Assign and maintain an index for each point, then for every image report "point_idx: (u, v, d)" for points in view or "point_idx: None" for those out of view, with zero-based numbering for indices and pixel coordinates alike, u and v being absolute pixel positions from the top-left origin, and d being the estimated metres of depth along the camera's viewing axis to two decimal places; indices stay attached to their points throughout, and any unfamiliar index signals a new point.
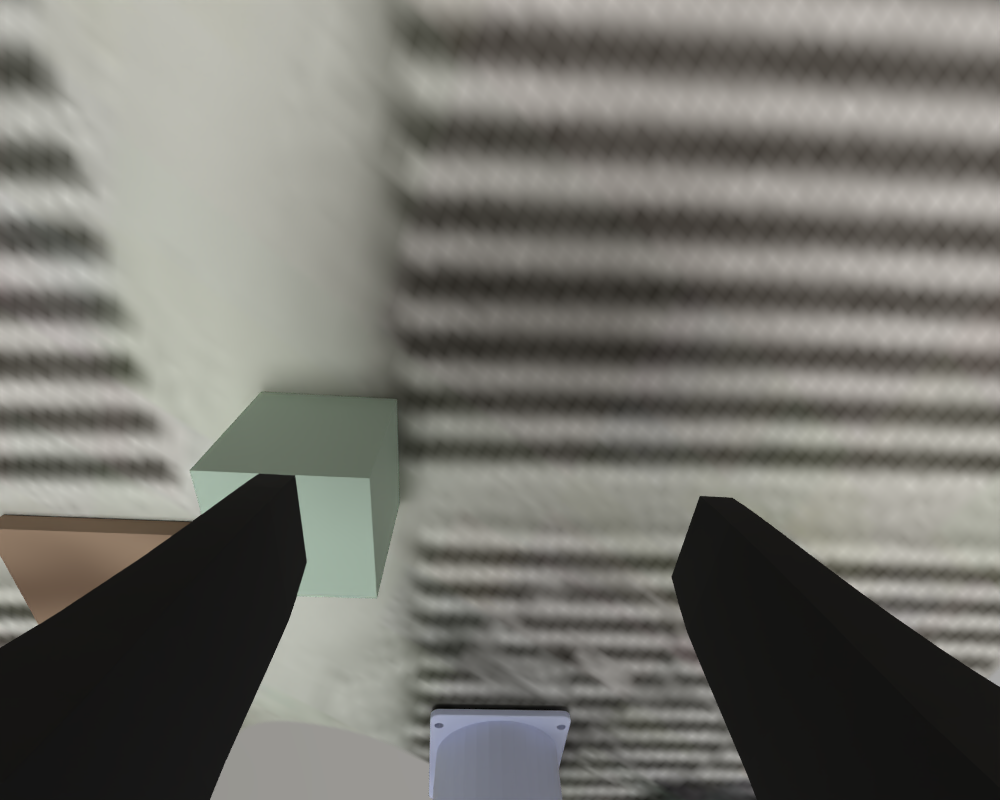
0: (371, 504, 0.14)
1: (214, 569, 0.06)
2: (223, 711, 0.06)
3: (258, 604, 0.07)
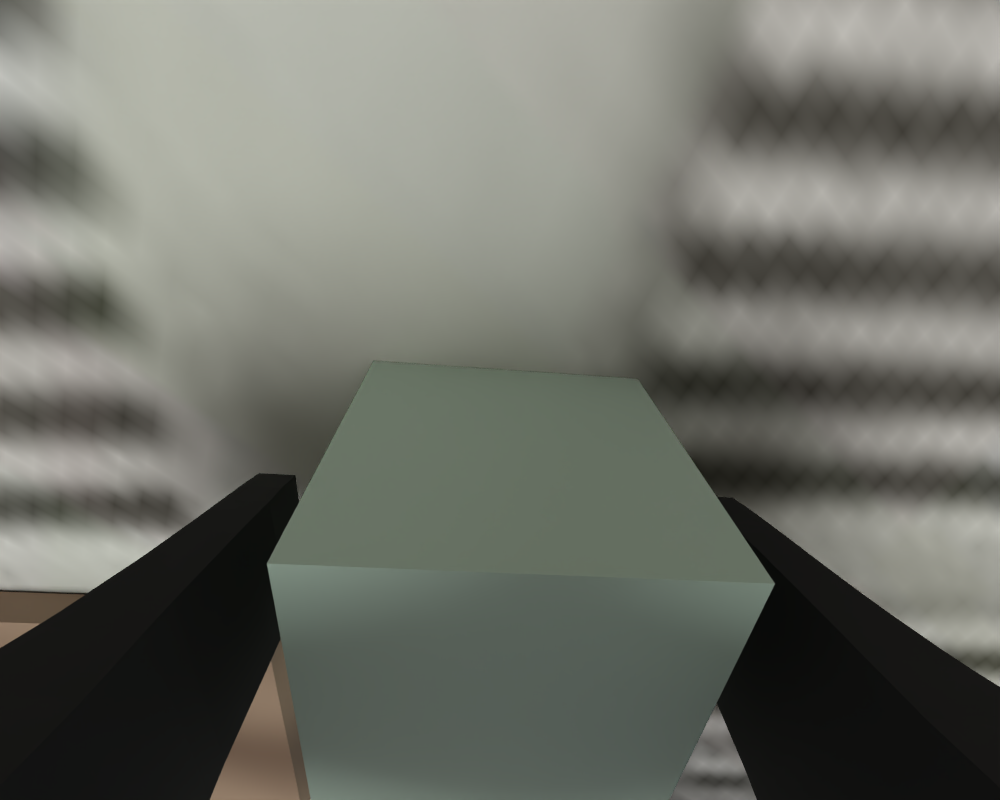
0: (738, 643, 0.05)
1: (214, 569, 0.06)
2: (223, 711, 0.06)
3: (258, 604, 0.07)
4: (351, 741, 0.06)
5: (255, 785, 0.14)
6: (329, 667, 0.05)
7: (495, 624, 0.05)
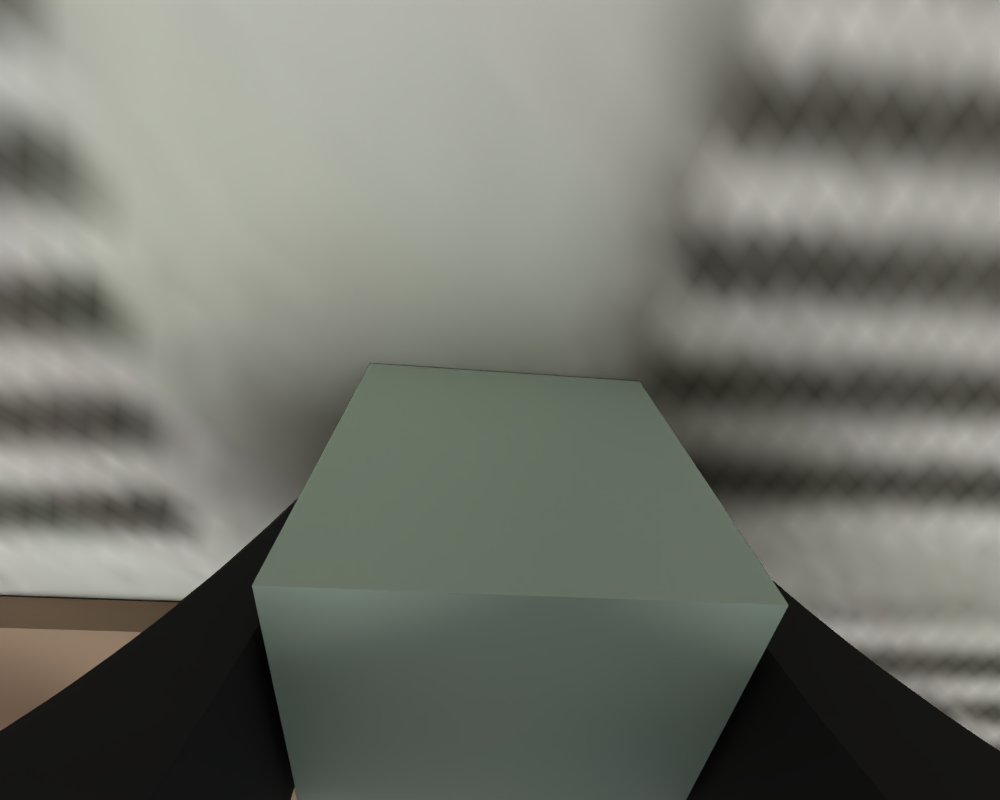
0: (749, 665, 0.05)
1: None
2: None
3: None
4: (344, 765, 0.06)
5: None
6: (319, 690, 0.05)
7: (492, 647, 0.05)
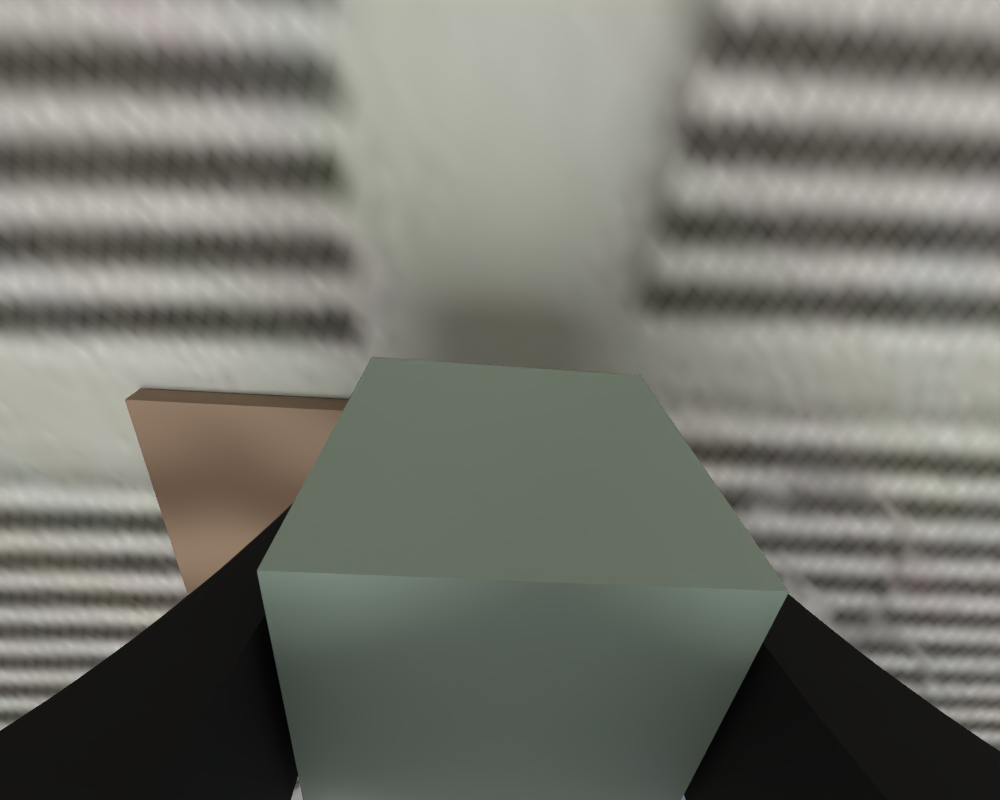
0: (749, 652, 0.05)
1: None
2: None
3: None
4: (348, 753, 0.06)
5: None
6: (323, 677, 0.05)
7: (496, 633, 0.05)
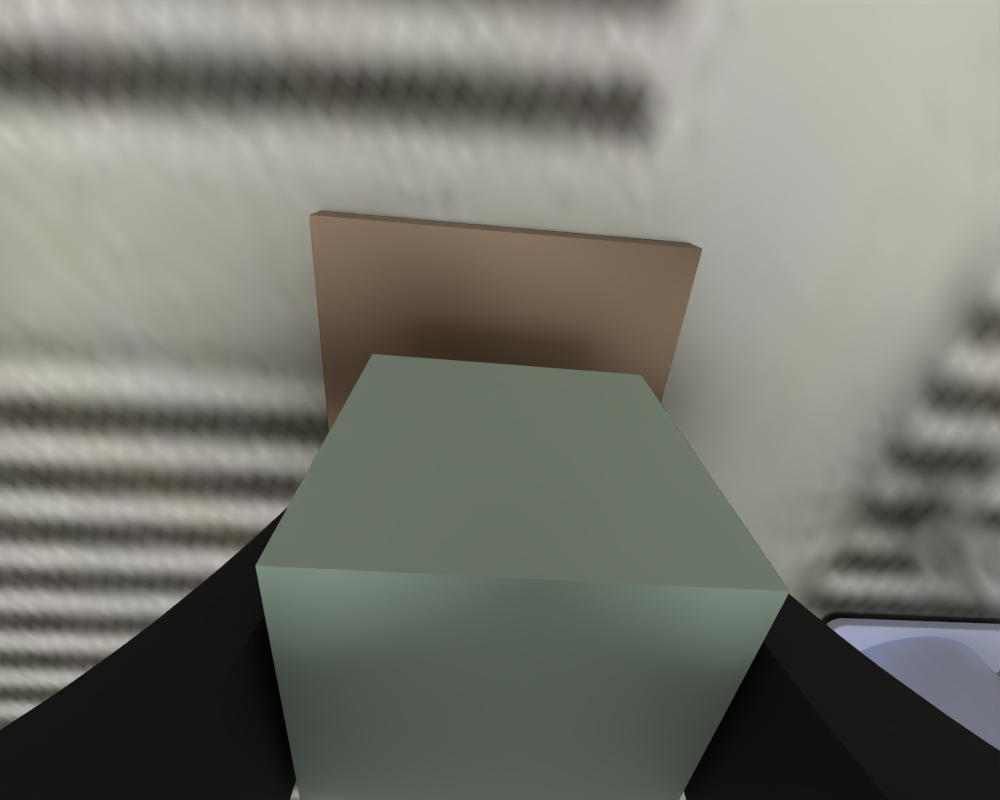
0: None
1: None
2: None
3: None
4: (345, 750, 0.06)
5: None
6: (321, 674, 0.05)
7: (494, 631, 0.05)
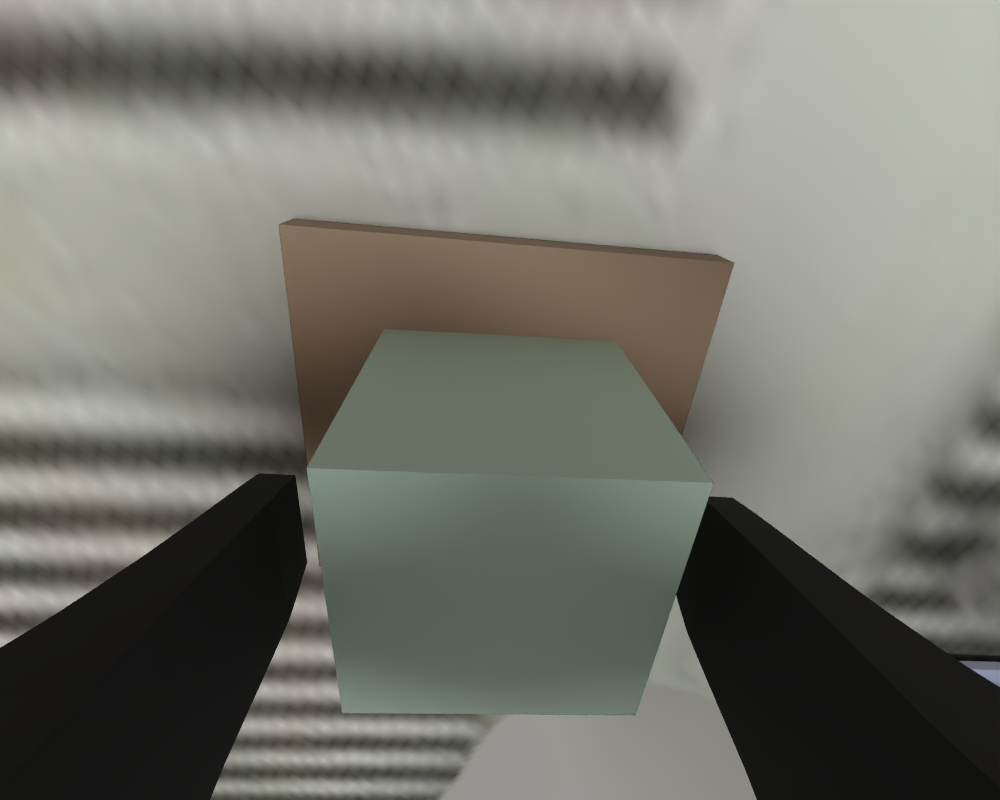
0: (690, 540, 0.07)
1: (214, 569, 0.06)
2: (223, 711, 0.06)
3: (258, 604, 0.07)
4: (373, 634, 0.07)
5: None
6: (355, 562, 0.06)
7: (488, 522, 0.06)
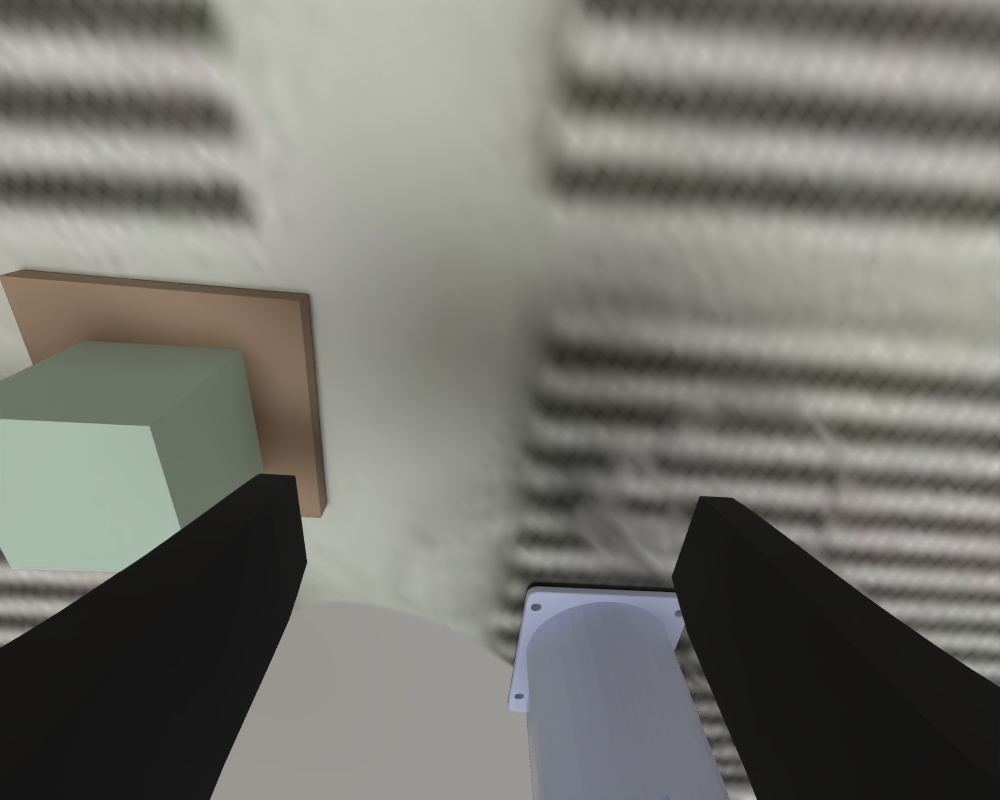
0: (161, 459, 0.12)
1: (214, 569, 0.06)
2: (223, 711, 0.06)
3: (258, 604, 0.07)
4: (7, 514, 0.13)
5: (285, 473, 0.18)
6: None
7: (39, 447, 0.12)
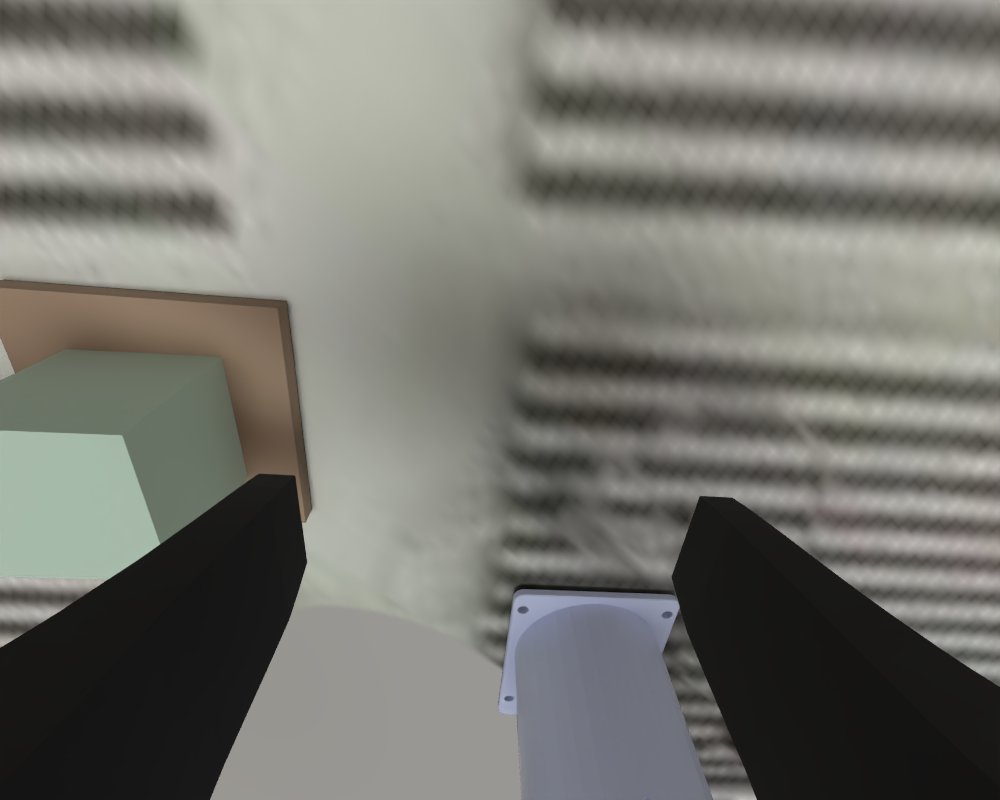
0: (135, 468, 0.12)
1: (214, 569, 0.06)
2: (223, 711, 0.06)
3: (258, 604, 0.07)
4: None
5: None
6: None
7: (14, 456, 0.12)
